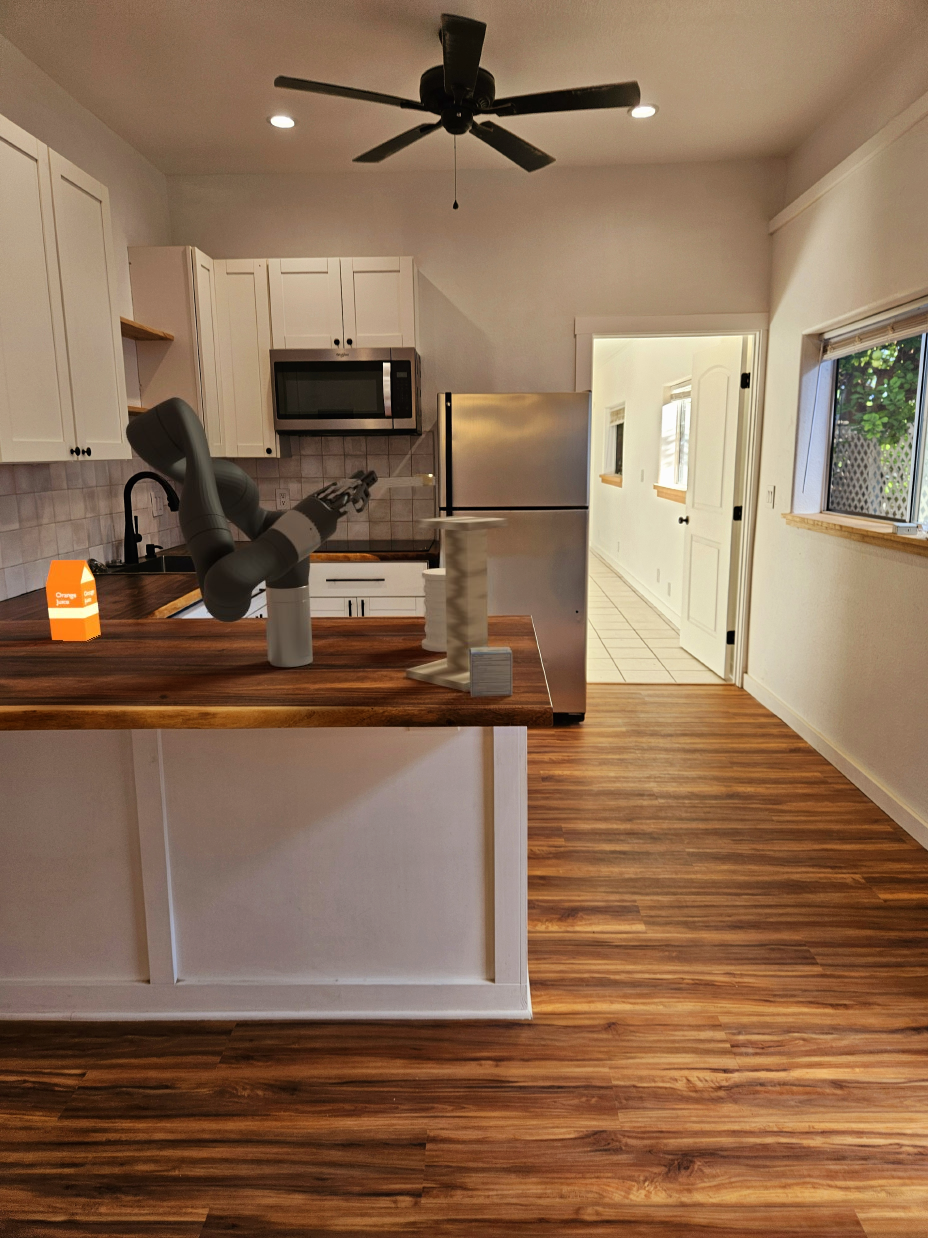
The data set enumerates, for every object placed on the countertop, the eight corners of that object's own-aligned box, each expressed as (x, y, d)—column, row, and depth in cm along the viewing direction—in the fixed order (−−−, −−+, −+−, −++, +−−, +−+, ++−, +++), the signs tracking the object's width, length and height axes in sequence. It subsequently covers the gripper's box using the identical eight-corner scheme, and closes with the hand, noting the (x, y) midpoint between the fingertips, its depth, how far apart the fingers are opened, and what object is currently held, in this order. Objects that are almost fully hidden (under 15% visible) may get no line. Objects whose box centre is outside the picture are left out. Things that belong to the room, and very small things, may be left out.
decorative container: (438, 638, 199) (437, 566, 195) (479, 643, 193) (478, 569, 189) (412, 648, 189) (410, 572, 185) (454, 654, 183) (453, 576, 179)
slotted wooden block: (338, 488, 137) (337, 476, 137) (424, 484, 153) (423, 474, 152) (351, 489, 135) (351, 477, 135) (437, 485, 150) (437, 474, 150)
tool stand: (406, 676, 165) (401, 520, 158) (455, 662, 176) (453, 515, 169) (464, 691, 154) (462, 524, 148) (512, 674, 165) (512, 518, 159)
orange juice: (86, 641, 200) (78, 562, 196) (51, 641, 200) (42, 562, 196) (101, 634, 207) (93, 557, 203) (67, 635, 208) (58, 558, 204)
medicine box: (510, 689, 155) (510, 646, 153) (512, 696, 151) (512, 651, 149) (469, 690, 155) (468, 647, 153) (470, 697, 150) (470, 652, 148)
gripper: (318, 512, 124) (388, 455, 133) (265, 509, 133) (334, 455, 142) (339, 552, 128) (405, 493, 137) (286, 546, 137) (352, 491, 146)
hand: (368, 474), depth 140 cm, fingers closed on slotted wooden block, 2 cm apart
